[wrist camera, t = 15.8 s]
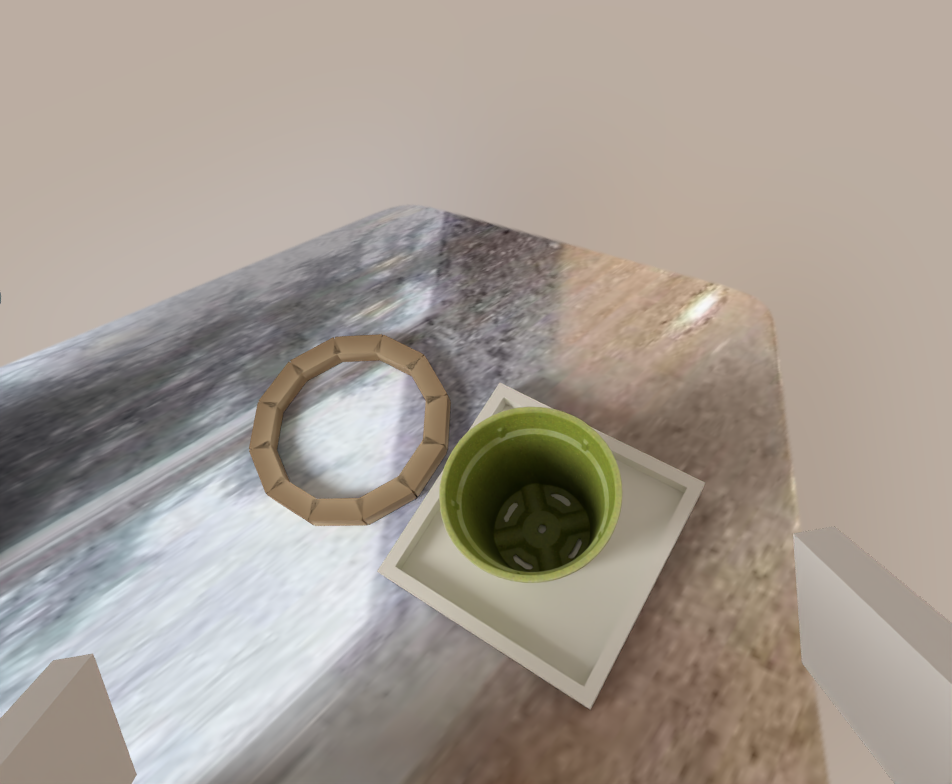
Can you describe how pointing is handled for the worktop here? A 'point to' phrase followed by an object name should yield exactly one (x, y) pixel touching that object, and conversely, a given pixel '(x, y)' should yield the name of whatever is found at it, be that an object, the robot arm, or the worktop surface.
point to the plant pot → (530, 494)
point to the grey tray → (562, 600)
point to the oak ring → (385, 495)
